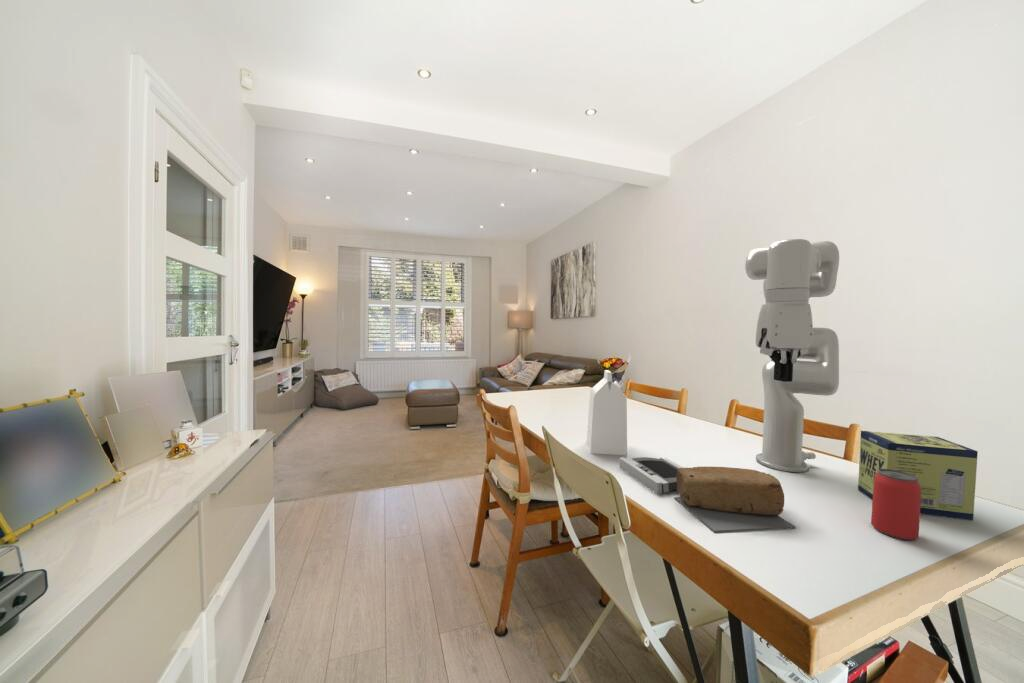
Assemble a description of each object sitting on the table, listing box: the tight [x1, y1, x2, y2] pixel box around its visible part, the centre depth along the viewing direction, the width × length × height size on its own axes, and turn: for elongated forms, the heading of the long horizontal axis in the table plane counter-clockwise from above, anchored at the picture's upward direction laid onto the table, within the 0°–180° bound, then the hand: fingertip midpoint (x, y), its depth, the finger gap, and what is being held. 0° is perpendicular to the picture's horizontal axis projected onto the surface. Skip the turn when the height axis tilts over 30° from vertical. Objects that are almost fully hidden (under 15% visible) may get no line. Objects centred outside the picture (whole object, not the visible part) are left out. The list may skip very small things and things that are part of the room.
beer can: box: [870, 469, 921, 541], centre depth 72 cm, size 7×7×12 cm
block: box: [676, 466, 785, 516], centre depth 82 cm, size 11×8×20 cm
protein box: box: [857, 430, 979, 521], centre depth 84 cm, size 10×16×16 cm
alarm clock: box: [619, 456, 684, 495], centre depth 97 cm, size 17×5×16 cm
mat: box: [674, 496, 797, 533], centre depth 79 cm, size 18×14×1 cm
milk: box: [586, 369, 628, 456], centre depth 120 cm, size 12×12×26 cm
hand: (782, 380), depth 79 cm, fingers closed
